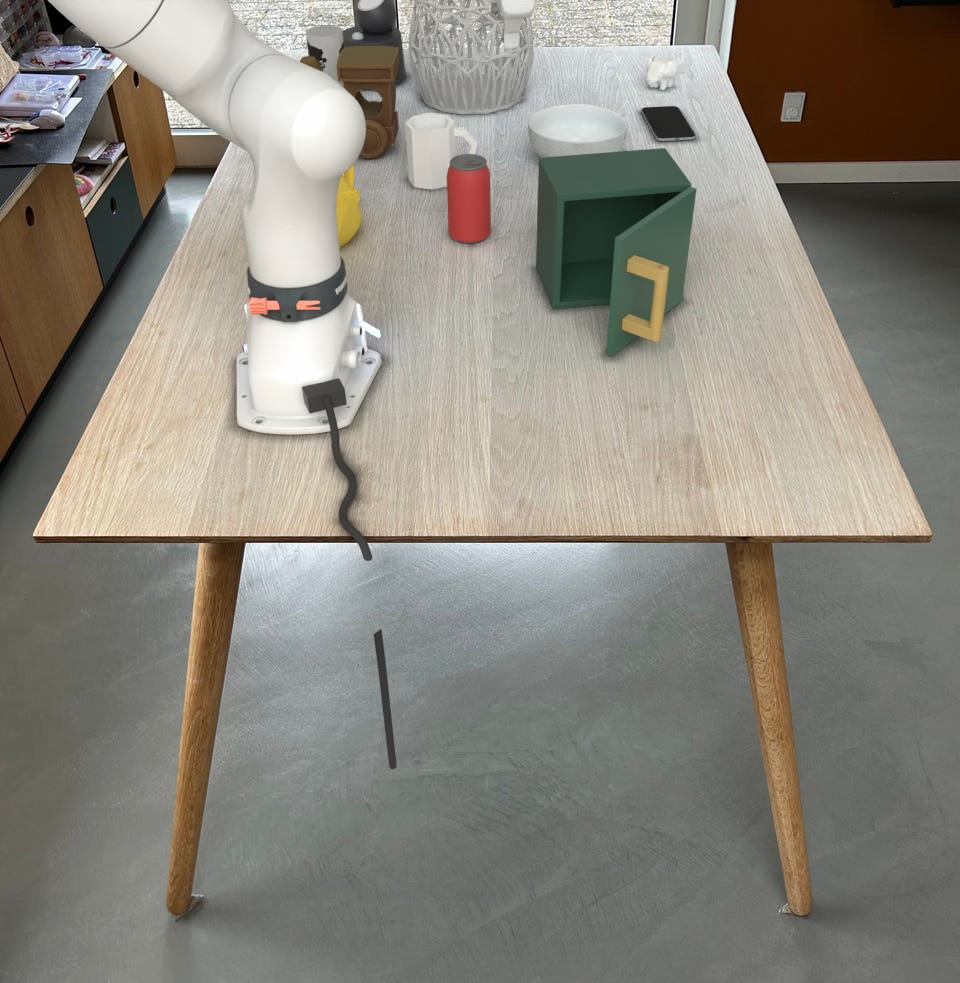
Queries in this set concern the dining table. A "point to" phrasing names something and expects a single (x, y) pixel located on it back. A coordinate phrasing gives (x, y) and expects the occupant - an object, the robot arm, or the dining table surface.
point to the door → (649, 272)
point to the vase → (467, 59)
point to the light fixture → (376, 30)
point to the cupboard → (595, 216)
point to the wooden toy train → (378, 74)
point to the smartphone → (667, 123)
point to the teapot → (347, 208)
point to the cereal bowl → (576, 130)
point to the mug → (433, 148)
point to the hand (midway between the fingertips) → (504, 31)
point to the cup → (326, 47)
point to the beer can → (468, 198)
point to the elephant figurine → (660, 72)
